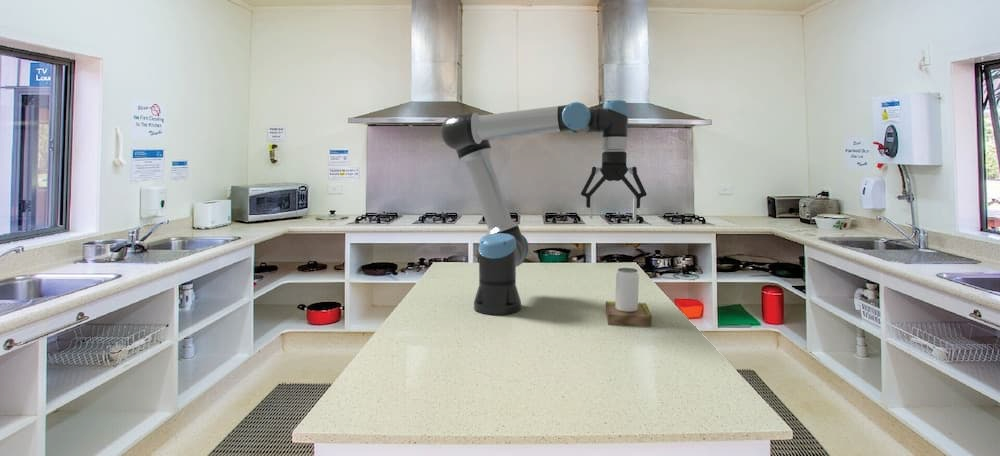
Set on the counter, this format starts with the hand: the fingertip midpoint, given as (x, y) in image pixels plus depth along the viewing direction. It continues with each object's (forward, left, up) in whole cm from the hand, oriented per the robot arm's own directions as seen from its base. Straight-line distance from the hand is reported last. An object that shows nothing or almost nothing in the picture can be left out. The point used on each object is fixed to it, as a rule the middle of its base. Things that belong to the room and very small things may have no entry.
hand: (612, 218), depth 159 cm
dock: (+4, -14, -29) cm, 32 cm away
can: (+4, -14, -26) cm, 30 cm away
